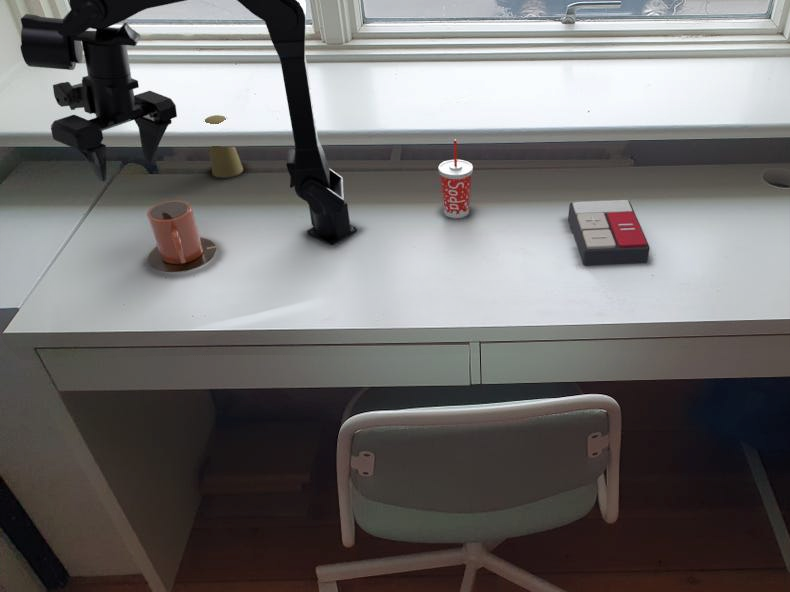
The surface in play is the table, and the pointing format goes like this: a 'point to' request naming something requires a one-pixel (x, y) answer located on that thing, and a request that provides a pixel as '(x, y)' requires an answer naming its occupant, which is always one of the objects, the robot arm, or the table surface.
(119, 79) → the robot arm
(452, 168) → the beverage cup
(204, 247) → the coaster
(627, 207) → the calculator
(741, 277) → the table surface
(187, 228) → the mug
